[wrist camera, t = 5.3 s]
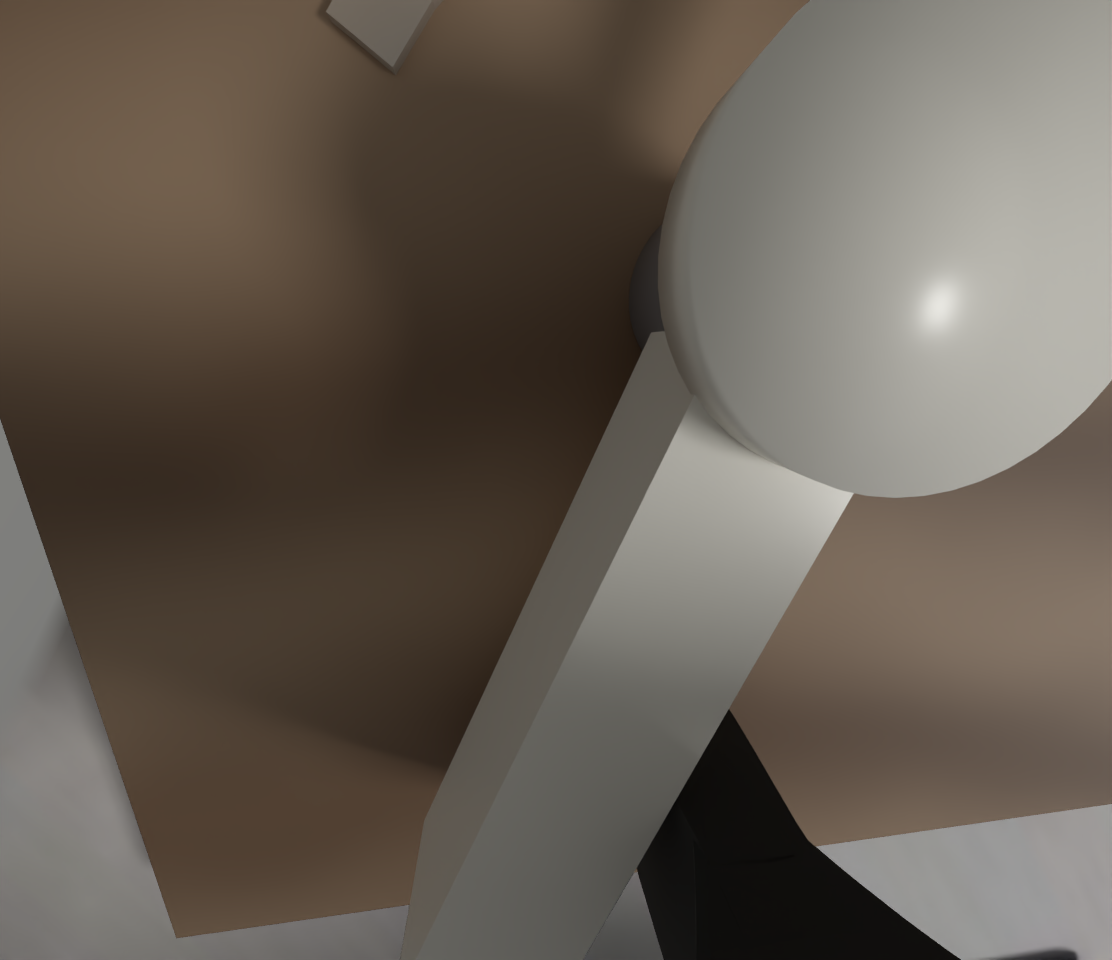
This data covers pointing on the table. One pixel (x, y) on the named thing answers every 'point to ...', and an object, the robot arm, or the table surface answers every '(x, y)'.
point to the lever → (782, 417)
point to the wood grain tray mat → (441, 433)
